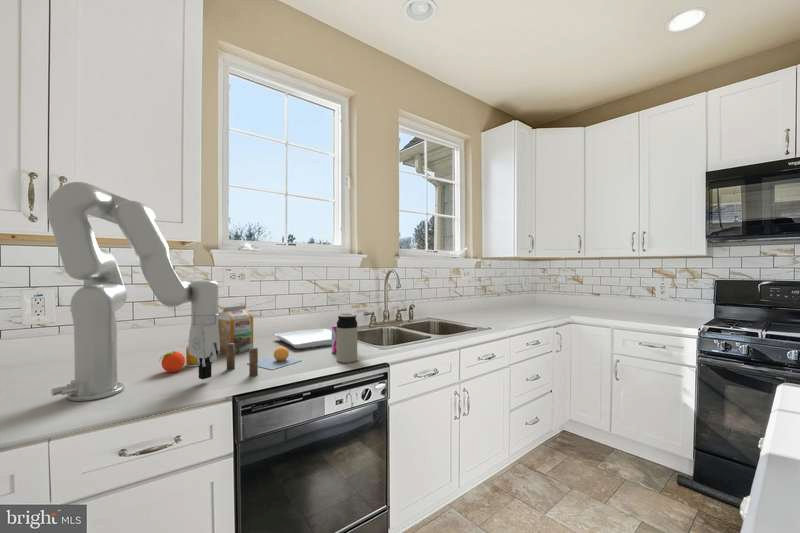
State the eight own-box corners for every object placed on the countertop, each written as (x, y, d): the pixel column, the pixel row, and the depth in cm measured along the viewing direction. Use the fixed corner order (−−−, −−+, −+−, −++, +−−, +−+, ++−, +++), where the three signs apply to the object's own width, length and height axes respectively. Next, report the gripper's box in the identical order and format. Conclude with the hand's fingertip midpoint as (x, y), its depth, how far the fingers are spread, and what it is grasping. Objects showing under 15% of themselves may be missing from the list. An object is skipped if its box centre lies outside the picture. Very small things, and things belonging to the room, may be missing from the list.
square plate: (294, 352, 155) (294, 343, 155) (273, 341, 177) (273, 333, 177) (350, 344, 171) (350, 336, 171) (325, 334, 193) (325, 327, 193)
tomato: (163, 377, 121) (163, 355, 120) (154, 373, 125) (154, 352, 124) (188, 371, 127) (188, 350, 127) (179, 367, 131) (179, 347, 131)
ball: (287, 364, 139) (277, 358, 136) (277, 362, 142) (268, 356, 138) (293, 351, 142) (284, 345, 138) (284, 349, 145) (275, 343, 141)
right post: (252, 376, 121) (252, 349, 121) (247, 375, 123) (247, 348, 123) (259, 374, 124) (259, 348, 123) (254, 373, 125) (254, 347, 125)
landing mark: (272, 370, 129) (272, 369, 129) (246, 364, 136) (246, 363, 136) (301, 360, 141) (301, 360, 141) (277, 355, 148) (277, 355, 148)
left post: (229, 370, 128) (229, 344, 128) (225, 369, 129) (225, 344, 129) (236, 368, 130) (236, 343, 130) (231, 367, 132) (231, 342, 131)
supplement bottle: (184, 364, 135) (184, 338, 134) (200, 362, 138) (200, 336, 138) (188, 368, 131) (188, 340, 131) (204, 365, 135) (204, 338, 134)
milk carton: (230, 355, 149) (230, 308, 148) (215, 351, 155) (215, 306, 154) (253, 349, 158) (253, 305, 157) (238, 346, 163) (238, 304, 163)
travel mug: (339, 364, 137) (339, 316, 136) (334, 358, 144) (334, 313, 144) (359, 362, 140) (359, 315, 139) (354, 357, 147) (354, 312, 147)
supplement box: (331, 353, 152) (331, 326, 152) (337, 350, 158) (338, 323, 158) (343, 354, 150) (343, 327, 150) (350, 351, 156) (350, 324, 156)
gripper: (179, 319, 116) (180, 377, 116) (207, 324, 108) (207, 385, 108) (203, 316, 122) (203, 371, 122) (230, 320, 114) (230, 378, 115)
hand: (205, 377), depth 115 cm, fingers closed
